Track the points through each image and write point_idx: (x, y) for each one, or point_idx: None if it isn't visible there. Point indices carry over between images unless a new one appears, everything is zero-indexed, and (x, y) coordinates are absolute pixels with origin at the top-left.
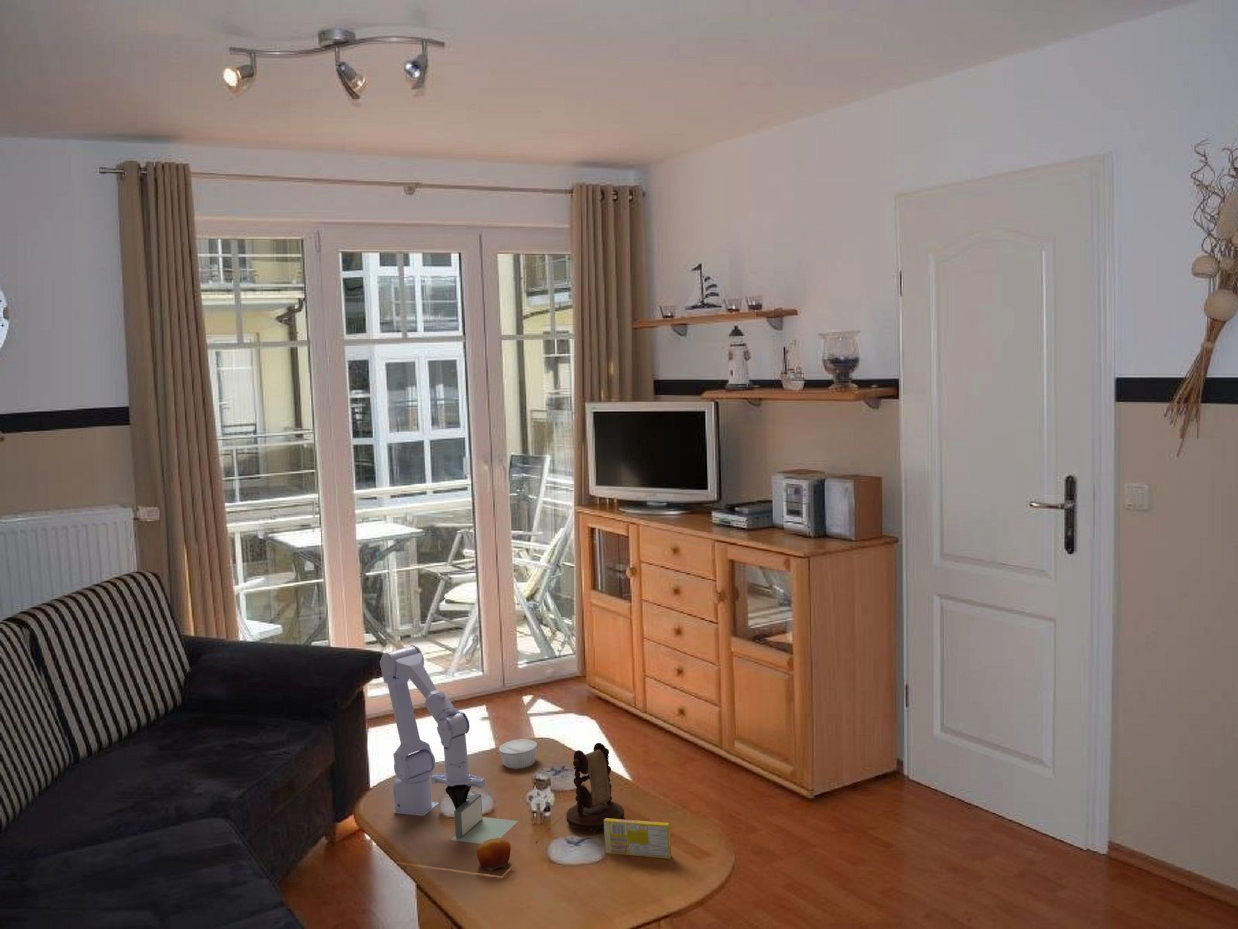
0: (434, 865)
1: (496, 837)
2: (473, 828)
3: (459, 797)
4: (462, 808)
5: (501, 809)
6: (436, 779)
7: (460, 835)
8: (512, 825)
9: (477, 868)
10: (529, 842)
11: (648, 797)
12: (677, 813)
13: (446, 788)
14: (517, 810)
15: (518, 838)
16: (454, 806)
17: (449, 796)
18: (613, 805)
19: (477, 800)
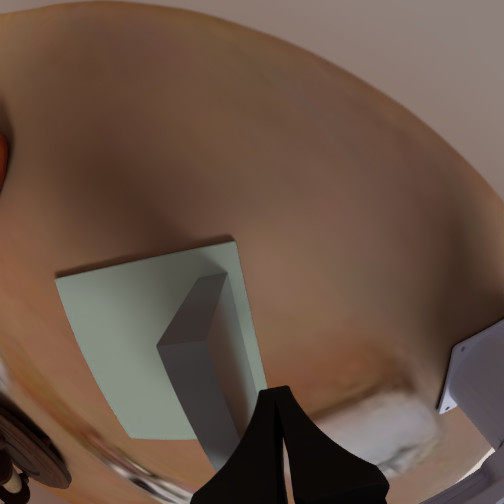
0: (151, 49)
1: (86, 335)
2: None
3: (241, 465)
4: (182, 392)
5: None
6: (493, 490)
7: (200, 281)
8: (118, 415)
9: (18, 130)
10: (18, 341)
11: (61, 497)
12: None
13: (380, 491)
14: (199, 477)
15: (51, 355)
16: (298, 407)
17: (339, 447)
18: (15, 464)
19: None
